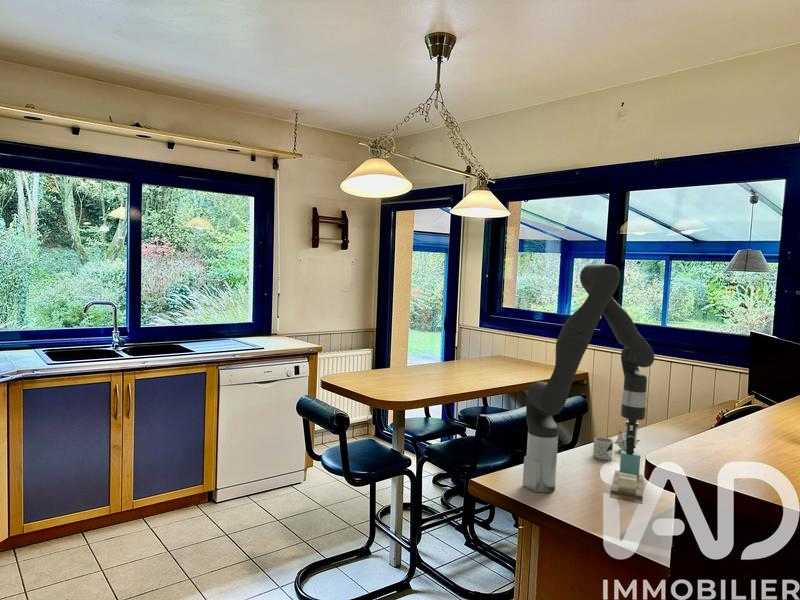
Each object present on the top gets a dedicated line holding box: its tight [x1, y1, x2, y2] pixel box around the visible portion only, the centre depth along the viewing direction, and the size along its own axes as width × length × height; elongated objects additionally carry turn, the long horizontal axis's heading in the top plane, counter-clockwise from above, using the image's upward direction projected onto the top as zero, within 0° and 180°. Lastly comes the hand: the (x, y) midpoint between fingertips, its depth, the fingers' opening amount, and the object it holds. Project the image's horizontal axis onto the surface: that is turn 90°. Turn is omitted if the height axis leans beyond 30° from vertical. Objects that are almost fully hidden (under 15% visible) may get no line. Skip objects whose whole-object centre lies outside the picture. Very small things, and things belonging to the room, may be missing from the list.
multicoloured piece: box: [609, 450, 645, 505], centre depth 166 cm, size 26×9×8 cm, turn 154°
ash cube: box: [618, 472, 637, 494], centre depth 160 cm, size 5×5×5 cm
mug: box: [592, 436, 614, 461], centre depth 198 cm, size 10×7×7 cm, turn 151°
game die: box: [613, 430, 641, 453], centre depth 204 cm, size 9×8×10 cm
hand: (629, 450), depth 176 cm, fingers open, 8 cm apart
